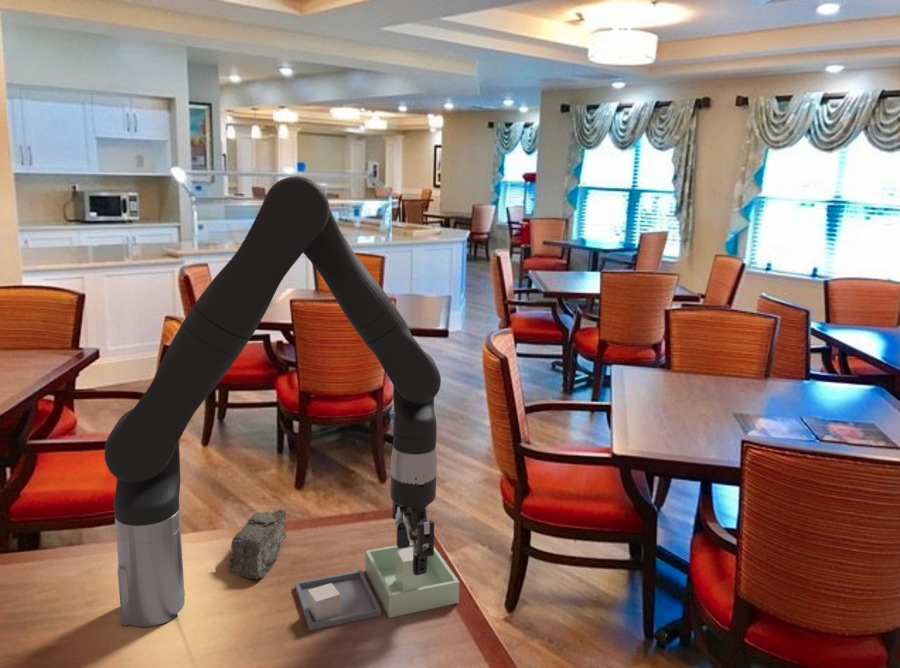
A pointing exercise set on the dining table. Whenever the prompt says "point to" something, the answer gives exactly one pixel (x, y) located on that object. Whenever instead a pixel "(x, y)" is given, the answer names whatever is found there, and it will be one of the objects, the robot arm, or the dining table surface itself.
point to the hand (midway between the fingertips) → (411, 560)
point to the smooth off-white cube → (324, 602)
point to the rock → (258, 544)
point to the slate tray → (341, 598)
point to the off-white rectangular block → (407, 571)
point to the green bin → (396, 602)
